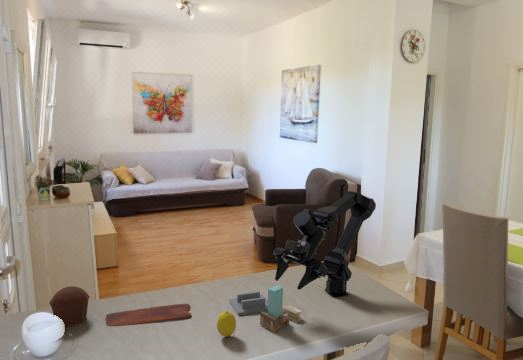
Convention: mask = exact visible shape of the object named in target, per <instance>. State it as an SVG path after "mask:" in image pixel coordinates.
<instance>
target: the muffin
mask: <svg viewBox="0 0 523 360" xmlns="http://www.w3.org/2000/svg"><path fill="white" fill-rule="evenodd" d="M89 299H90V295H89V294H88V293H87V292H86V290H85V289H83V288H82V287H78V286H76V285H75V286H71V285H70V286H66V287H63V288H61V289H59V290H58V291H56V293H54V295H53V297H52V298H51V299H50V300H49V302H48V304H49V306H50V308H51V310H52V315H53V316H54V315H56V316H58V317H59V318H60V319H62V320H63V322H64V324H65V326H66V327H67V328H68V327H74V326H76V325H79V324H82V323H83V322H84V321H85V320H86V319H87V315H88V313H87V312H88V305H89Z"/></svg>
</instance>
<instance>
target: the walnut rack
mask: <svg viewBox="0 0 523 360" xmlns="http://www.w3.org/2000/svg"><path fill="white" fill-rule="evenodd" d="M288 317H289V315H288V314H284V315H282V316H280V317H278V318H275V317H273V316H271V315H269V314H268V312H266V311H264V312H260V318H259V319H260V322H259V324H260V326H261V327H263V328H266V329H267V330H270V331H271V332H272V333H273V332H274V333H276V332H277V331H278V330H279V329H281V328H283V327H285V326H289V325H290V320H289V319H288Z"/></svg>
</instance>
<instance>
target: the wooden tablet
mask: <svg viewBox="0 0 523 360" xmlns="http://www.w3.org/2000/svg"><path fill="white" fill-rule="evenodd" d="M190 311H191V305H190V304H189V303H179V304H178V303H177V304H168V305H158V306H153V307H145V308H137V309H131V310H124V311H118V312H117V311H116V312H111V313H108V314H106V315H105V318H104V321H105V325H106V326H107V327H124V326H130V325H131V326H132V325H138V324H144V323H147V324H148V323H154V322H164V321H165V322H166V321H175V320H184V319H188V318H189V319H190V318H192V317H193V316H192V313H191V312H190Z"/></svg>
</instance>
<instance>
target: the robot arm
mask: <svg viewBox="0 0 523 360" xmlns="http://www.w3.org/2000/svg"><path fill="white" fill-rule="evenodd" d="M376 207H377V204H376V201H375V200H374V198H370V197H368V196H365V195H363V194H362V193H360V192H359V191H352V190H348V191H346V192H345V194H344V195H343V196H342V197H340V198H338V199H337V200H336V201H334V202H333V203H331V205H328V206H325V207H320V208H318V209H316V210H314V211H313V213H312V210H310V209H307V208H305V209H303V211H301V212H298V213H297V214H295V215H294V217H293V219H292V222H293V224H294V226H295V227H296V228H297V230H298V231H299V233H301V235H302V236H303V238H302V239H298V240H297V241H295V240H291V239H287V240H286V244H285V247H284V248H282V247H276V248H275V249H274V250H273V252H272V254H273V255H274V257H275V259H276V261H277V266H276V273H275V276H274V277H275V278H274V280H275V281H276V282H278V281H279V279H281V278H282V276H283V275H284V274H285V272H286V271H288V268H289V267H290V264H291V263H295V264H298V265H301V266H304V267H305V272H304V274H303V275H302V276H301V279H300V280H299V282H298V285H297V288H296V289H297V290H302V289H303V288H304V287H306V286H307V285H308V284H309V285H310V284H311V283H312V282H313V281H315V280H317V279H321V278H325V277H326V276H327V280H326V283H325V284H326V285H325V288H324V291H325V292H326V293H327V294H328V295H330V296H331V297H332V298H336V297H337V298H338V297H344V296H348V295H349V292H348V291H347V283H348V282H349V281H350V279H352V274H353V273H352V270H351V269H350V268H349V264H350V262H349V253H350V252H351V249H352V247H353V245H354V242H355V240H357V239H356V238H357V236H358V234H359V232H360V230H361V228H362V226H363V223H364V222H365V221H366V220H368V219H369V218H370V217H372V214H373V213H374V212H375V210H376ZM349 210H350V216H349V217H350V218H349V219H348V221H347V223H346V226H345V228H344V230H343V232H342V234H341V236H340V238H339V240H338V242H337V244H336V247H335V248H334V249H332V250H331V249H328V250H327V252H326V255H325V256H324V258H323V261H322V260H320V259H319V260H318V259H315V258H314V255H316V256H317V255H318V253H319V252H318V248H319V246H320V245H321V244H322V242H323V240H324V241H327V240H328V236H327V231H325V230H323V229H326V230H329V231H331V230H332V229H333V228H334V227H335V226H336V225H337V224H338V222H339V218H340V217H341V216H342V215H344V213H346V212H348V211H349ZM288 250H289V251H290V252H289V251H288Z"/></svg>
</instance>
